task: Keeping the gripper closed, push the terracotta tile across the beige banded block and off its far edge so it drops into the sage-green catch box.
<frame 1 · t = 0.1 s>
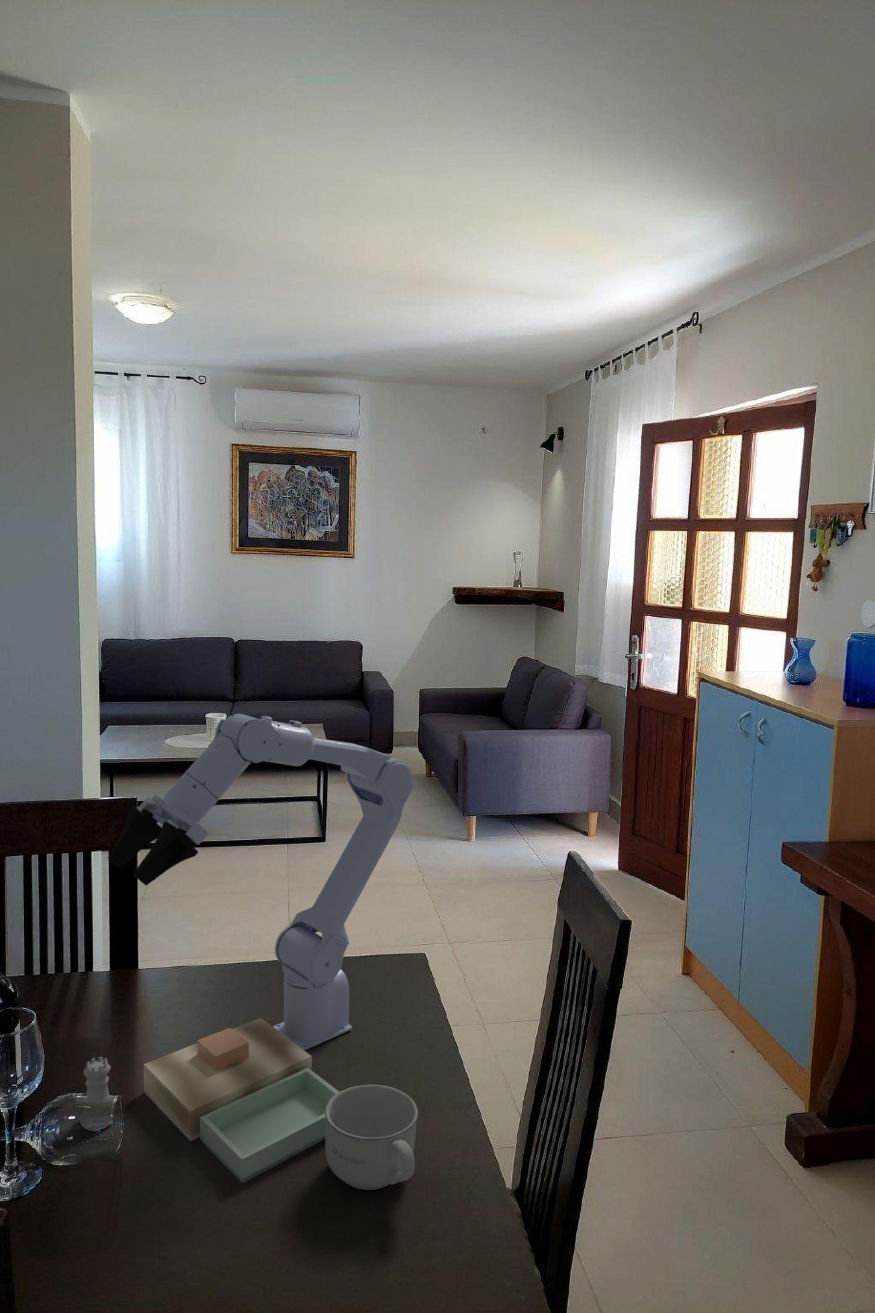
hand: (126, 871, 111), 32 cm above the table, tool tilted 50°, fingers open, 7 cm apart
beige banded block: (228, 1088, 119), on the table
tile: (223, 1055, 120), point 4 cm above the table, touching beige banded block
catch box: (277, 1132, 111), on the table
rook chess piece: (98, 1123, 112), on the table
teacup: (375, 1181, 103), on the table
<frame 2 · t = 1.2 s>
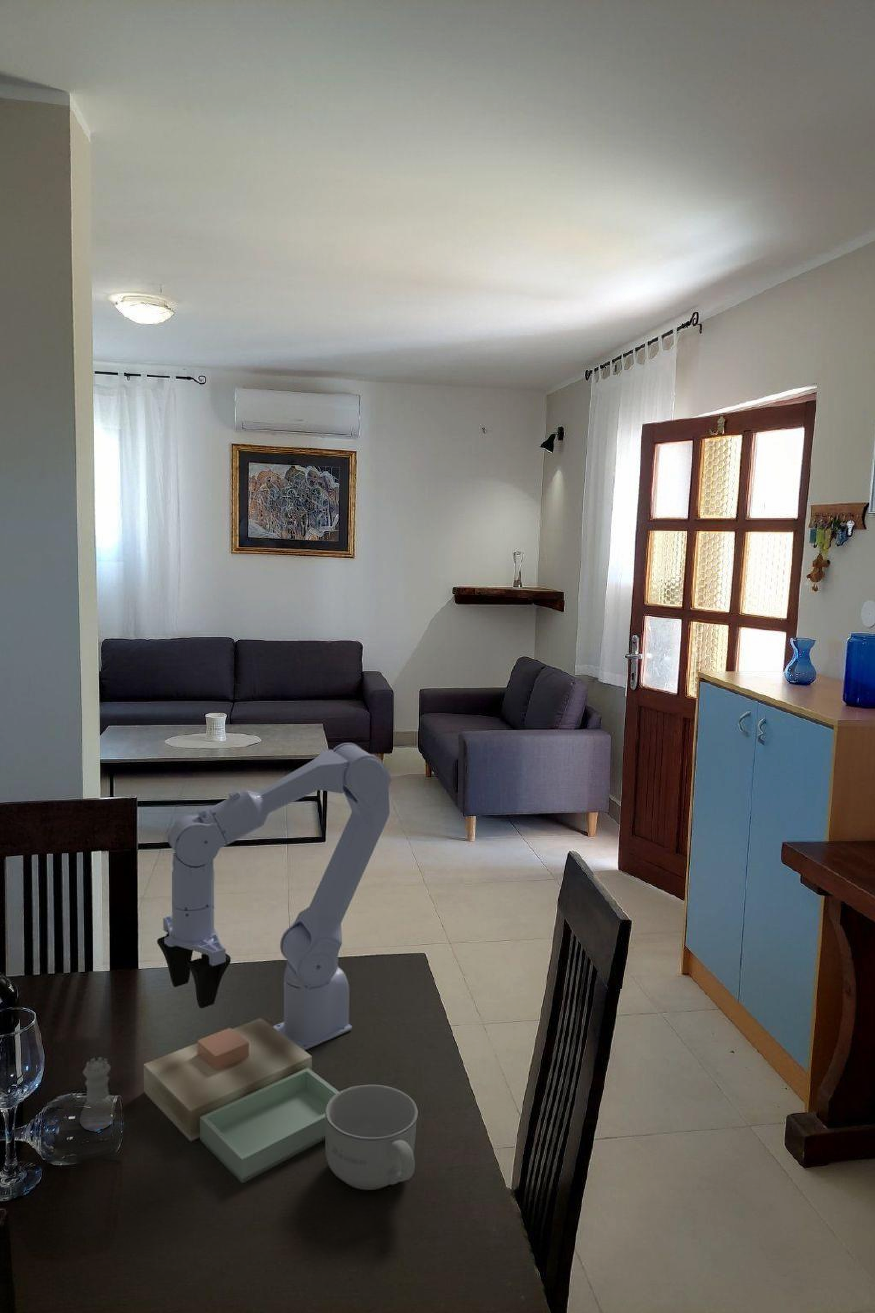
hand: (193, 994, 125), 10 cm above the table, tool pointing down, fingers open, 7 cm apart
nothing on the table moved.
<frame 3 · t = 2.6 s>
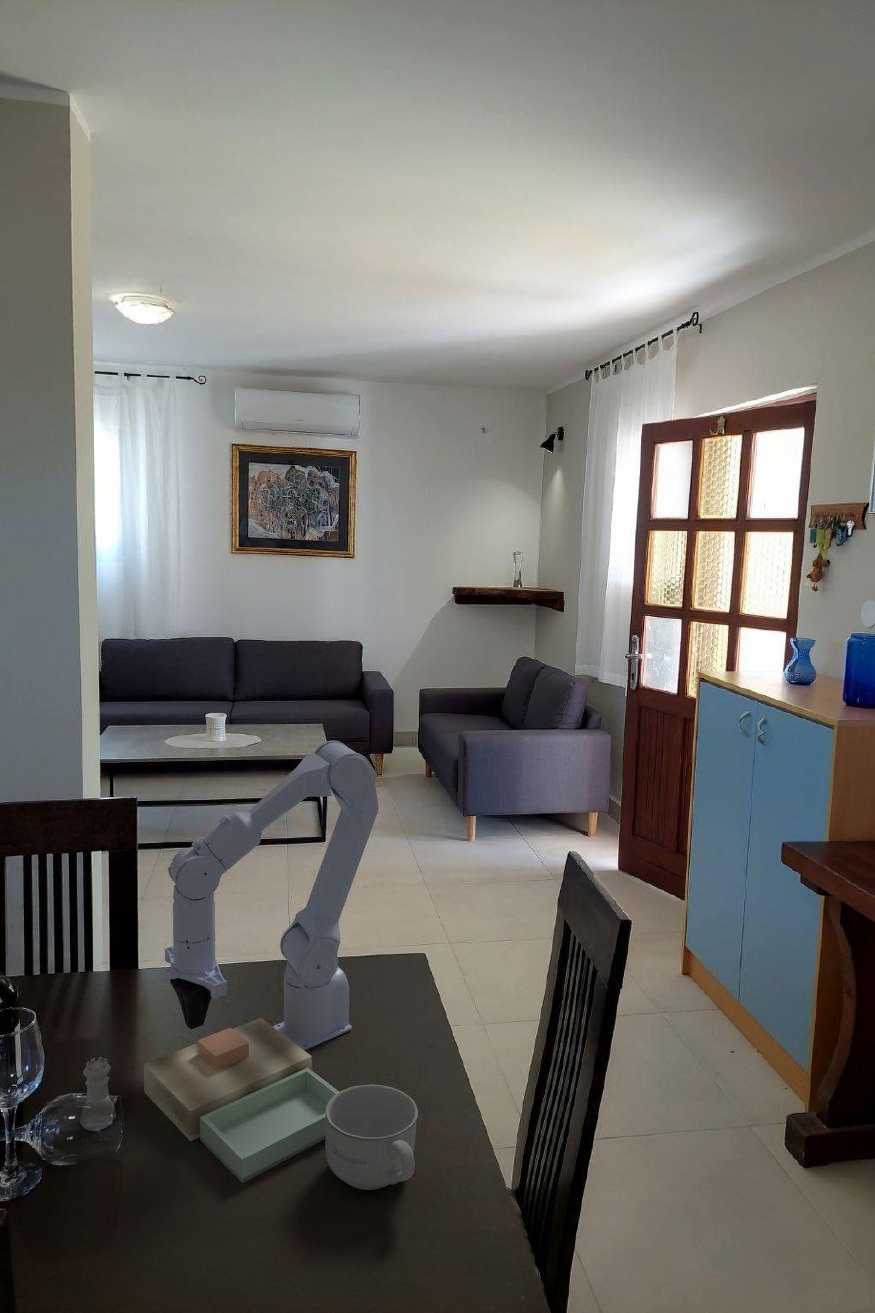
hand: (195, 1025, 126), 5 cm above the table, tool pointing down, fingers closed
nothing on the table moved.
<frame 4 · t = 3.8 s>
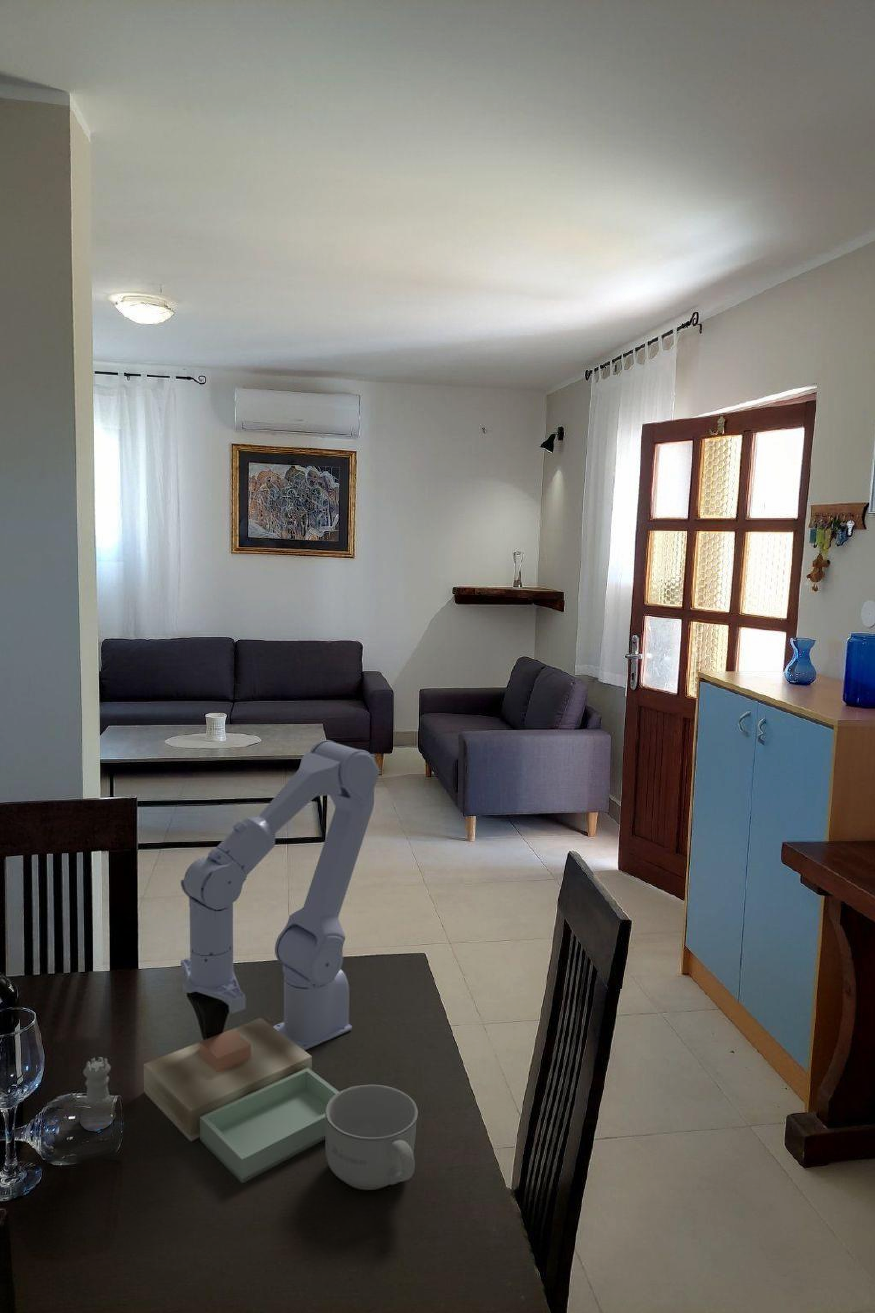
hand: (212, 1040, 122), 5 cm above the table, tool pointing down, fingers closed
tile: (225, 1057, 120), point 4 cm above the table, touching gripper, beige banded block
everything else where it was.
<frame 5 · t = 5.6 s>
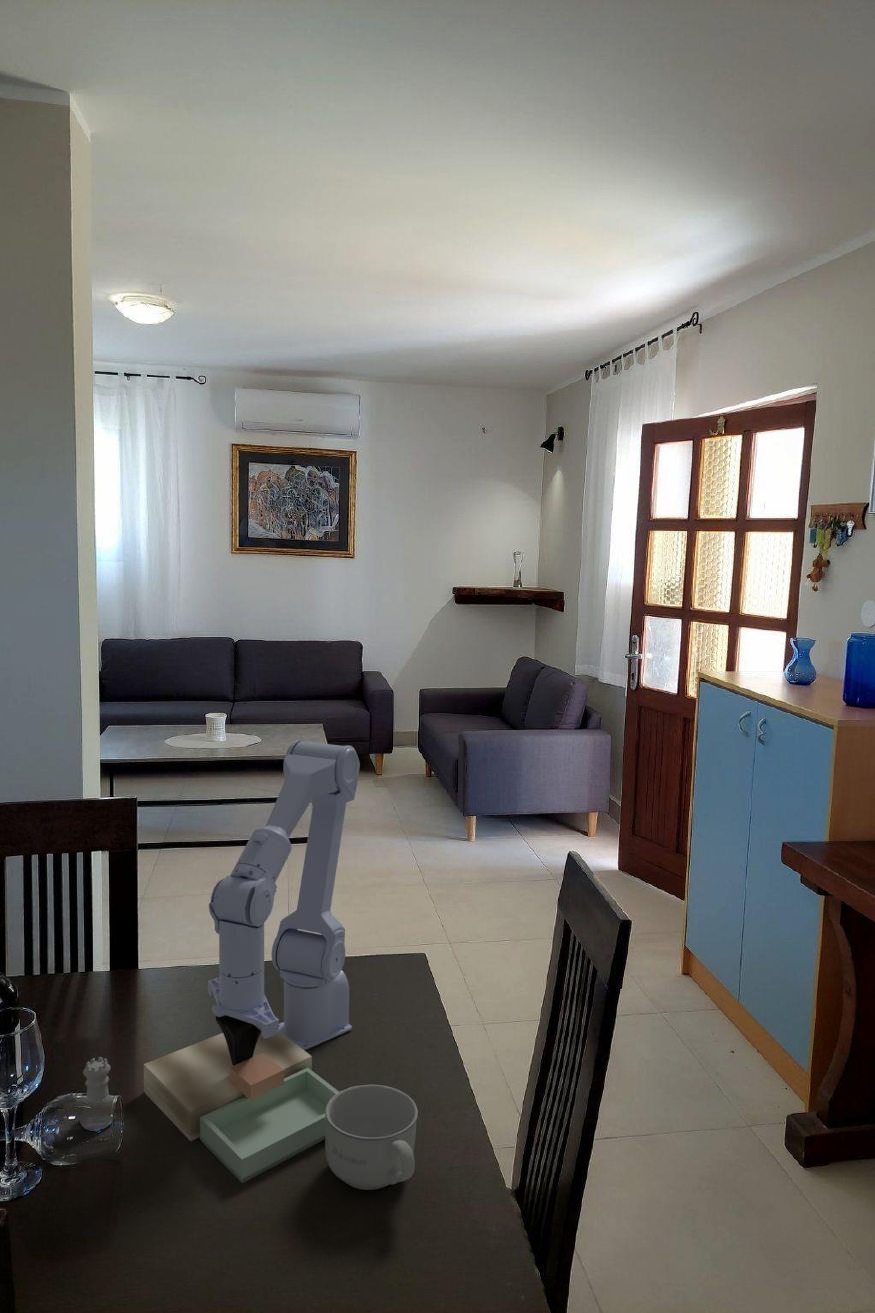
hand: (242, 1065, 116), 5 cm above the table, tool pointing down, fingers closed
tile: (256, 1083, 114), point 4 cm above the table, touching gripper, beige banded block
everything else where it was.
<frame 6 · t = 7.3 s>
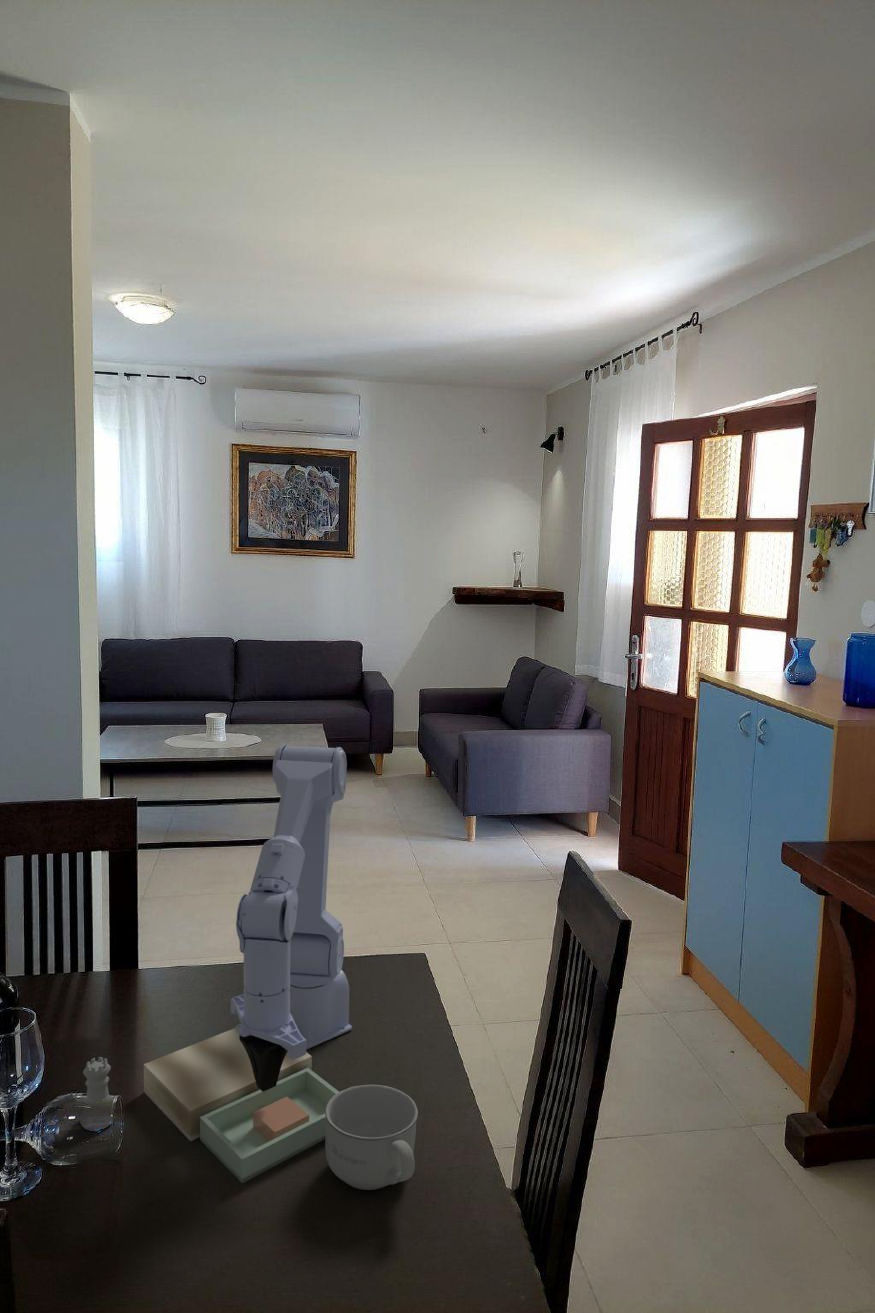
hand: (266, 1086, 112), 5 cm above the table, tool pointing down, fingers closed
tile: (281, 1113, 110), point 2 cm above the table, tilted 180°, touching catch box
everything else where it was.
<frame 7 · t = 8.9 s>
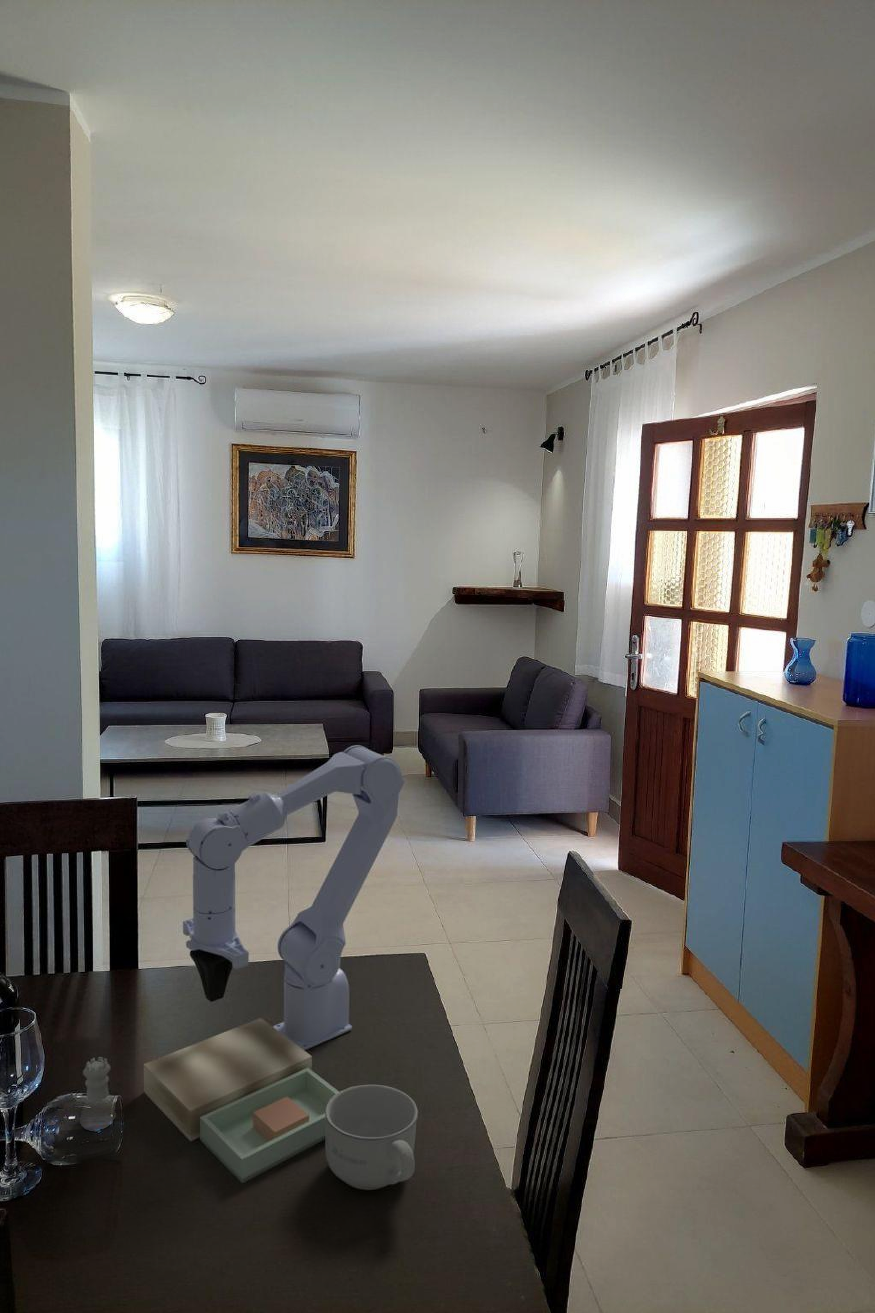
hand: (214, 998, 125), 9 cm above the table, tool pointing down, fingers closed
nothing on the table moved.
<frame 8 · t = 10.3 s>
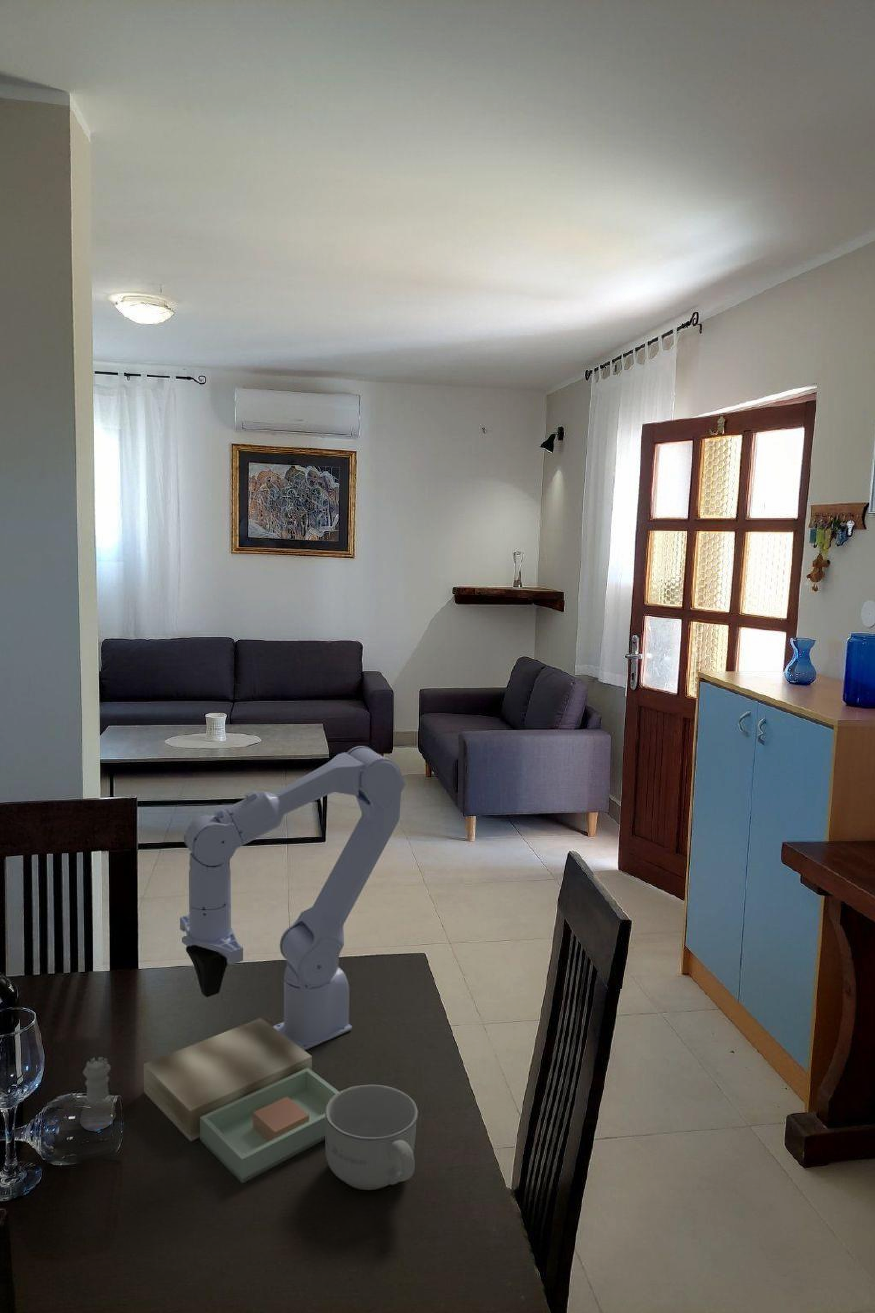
hand: (210, 993, 126), 9 cm above the table, tool pointing down, fingers closed
nothing on the table moved.
at the end: tile inside the target area (0.4 cm from its centre), point 2.5 cm above the table; tile moved 13.9 cm from its start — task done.
